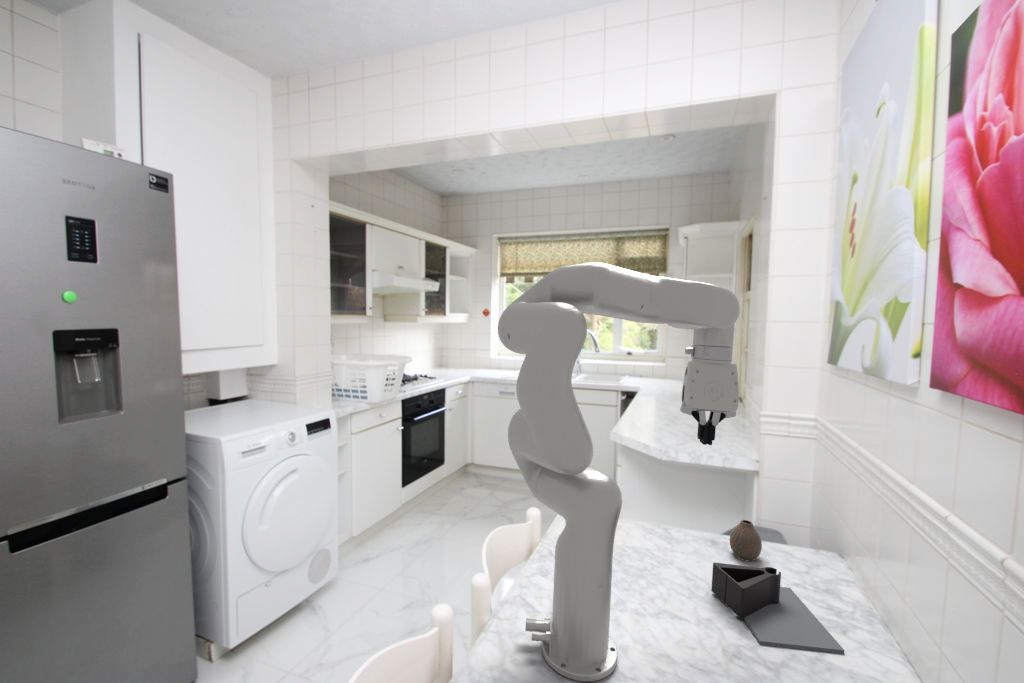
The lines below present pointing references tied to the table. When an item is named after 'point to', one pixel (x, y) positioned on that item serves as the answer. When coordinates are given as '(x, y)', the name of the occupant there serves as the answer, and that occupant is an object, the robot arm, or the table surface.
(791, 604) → the mat
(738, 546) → the vase
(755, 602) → the phone stand
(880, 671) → the table surface
